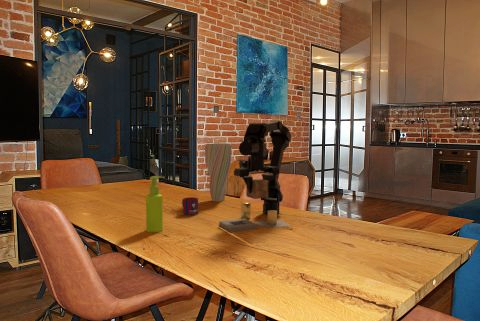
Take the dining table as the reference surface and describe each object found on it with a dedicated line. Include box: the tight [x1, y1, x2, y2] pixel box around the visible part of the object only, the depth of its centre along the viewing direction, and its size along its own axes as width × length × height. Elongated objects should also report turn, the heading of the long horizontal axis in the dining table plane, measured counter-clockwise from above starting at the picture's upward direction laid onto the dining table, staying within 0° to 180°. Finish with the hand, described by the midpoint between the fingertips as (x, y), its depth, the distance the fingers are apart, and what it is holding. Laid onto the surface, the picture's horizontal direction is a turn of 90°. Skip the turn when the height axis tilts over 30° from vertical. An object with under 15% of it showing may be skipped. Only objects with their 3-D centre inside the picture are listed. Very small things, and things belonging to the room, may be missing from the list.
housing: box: [245, 177, 268, 200], centre depth 157 cm, size 6×6×7 cm
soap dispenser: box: [145, 175, 164, 234], centre depth 142 cm, size 6×7×20 cm
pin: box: [240, 201, 251, 220], centre depth 160 cm, size 4×4×7 cm
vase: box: [204, 142, 232, 203], centre depth 203 cm, size 14×14×30 cm
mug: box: [181, 196, 199, 216], centre depth 172 cm, size 7×10×7 cm
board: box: [253, 210, 292, 229], centre depth 151 cm, size 11×11×6 cm
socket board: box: [218, 218, 259, 234], centre depth 146 cm, size 11×11×2 cm
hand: (257, 192), depth 157 cm, fingers closed on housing, 6 cm apart
